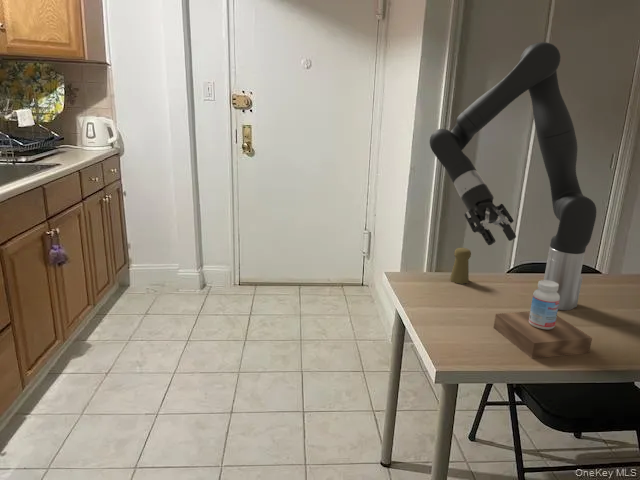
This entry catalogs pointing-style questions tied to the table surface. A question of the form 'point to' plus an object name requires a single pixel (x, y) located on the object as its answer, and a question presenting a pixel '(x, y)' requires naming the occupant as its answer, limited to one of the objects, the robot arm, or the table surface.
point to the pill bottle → (544, 305)
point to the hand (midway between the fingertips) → (502, 241)
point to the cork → (461, 266)
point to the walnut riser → (542, 336)
